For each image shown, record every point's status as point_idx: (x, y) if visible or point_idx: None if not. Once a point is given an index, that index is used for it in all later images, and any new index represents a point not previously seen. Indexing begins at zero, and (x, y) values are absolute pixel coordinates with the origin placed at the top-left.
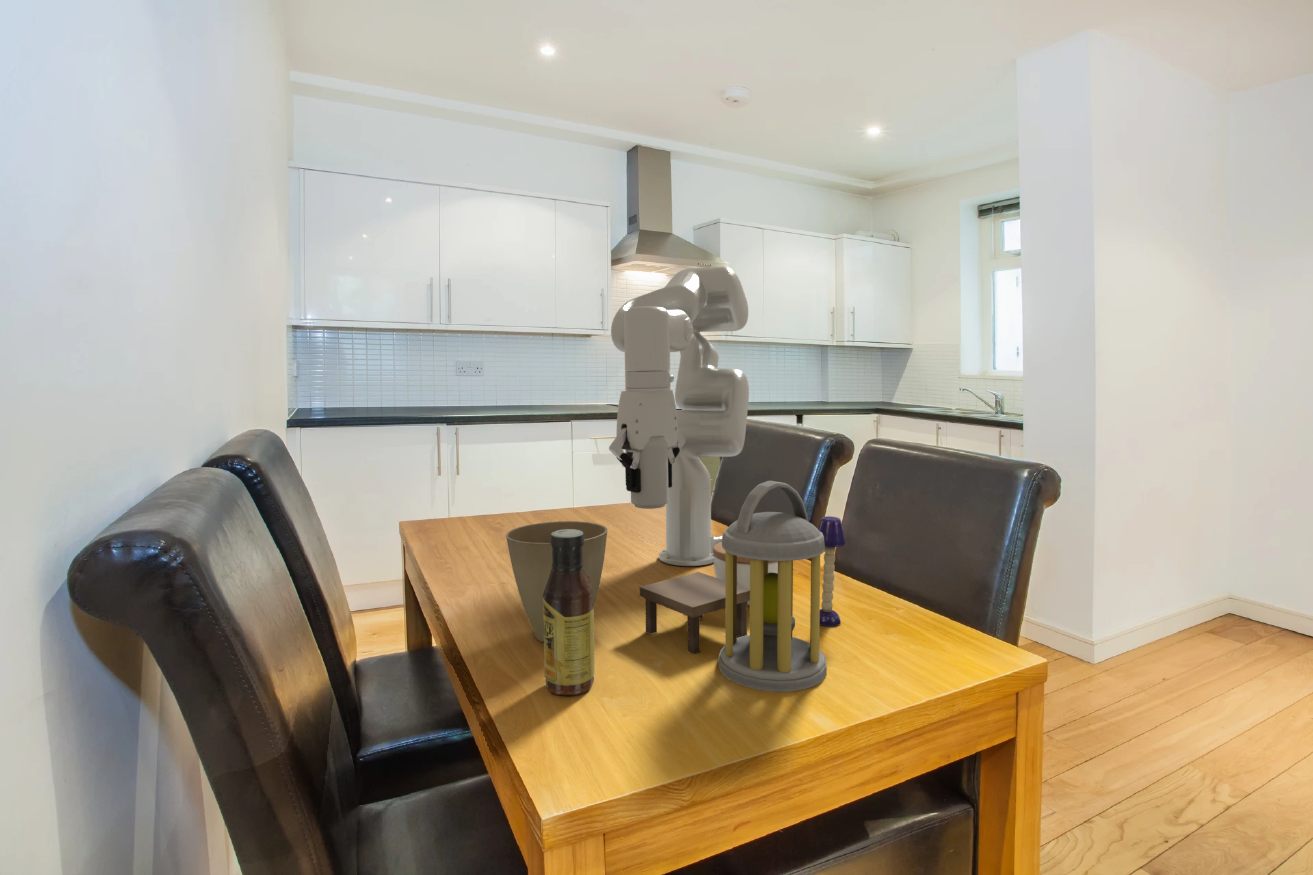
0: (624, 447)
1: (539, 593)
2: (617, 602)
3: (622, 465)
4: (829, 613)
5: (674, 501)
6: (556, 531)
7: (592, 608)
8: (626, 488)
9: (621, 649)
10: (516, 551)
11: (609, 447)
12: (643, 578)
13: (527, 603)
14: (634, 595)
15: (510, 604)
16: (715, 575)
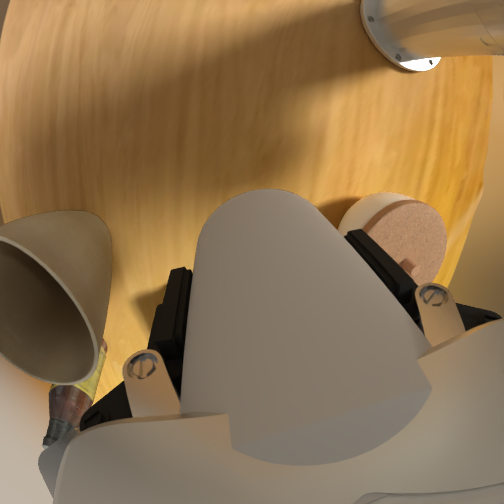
0: (134, 431)
1: (38, 308)
2: (189, 149)
3: (127, 364)
4: None
5: (448, 3)
6: (45, 447)
7: (92, 403)
8: (171, 271)
9: (141, 302)
10: None
11: (40, 463)
12: (289, 56)
13: (32, 279)
14: (230, 129)
15: (48, 101)
16: (345, 220)
